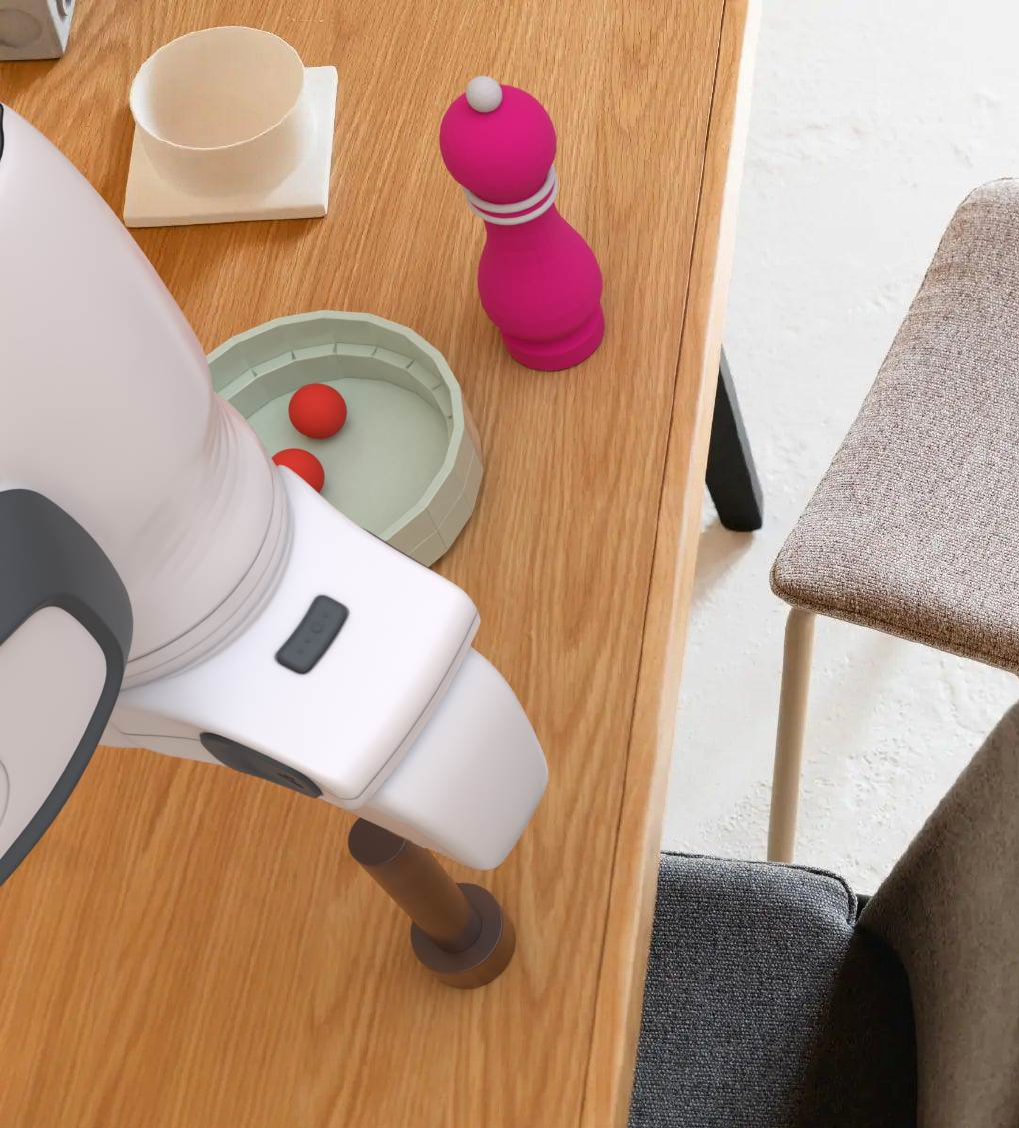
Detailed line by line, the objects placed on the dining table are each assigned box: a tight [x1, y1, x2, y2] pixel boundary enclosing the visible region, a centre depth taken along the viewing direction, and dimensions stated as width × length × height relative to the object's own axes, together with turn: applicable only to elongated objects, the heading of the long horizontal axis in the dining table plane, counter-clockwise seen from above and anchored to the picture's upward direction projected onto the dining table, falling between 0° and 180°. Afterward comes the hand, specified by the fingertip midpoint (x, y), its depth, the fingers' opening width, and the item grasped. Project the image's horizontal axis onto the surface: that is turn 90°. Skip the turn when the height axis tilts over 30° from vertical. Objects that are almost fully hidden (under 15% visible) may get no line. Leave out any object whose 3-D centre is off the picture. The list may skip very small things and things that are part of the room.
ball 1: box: [288, 383, 347, 439], centre depth 87 cm, size 3×3×3 cm
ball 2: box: [272, 448, 325, 493], centre depth 85 cm, size 3×3×3 cm
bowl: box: [205, 309, 485, 568], centre depth 85 cm, size 17×17×6 cm
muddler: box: [347, 817, 517, 990], centre depth 67 cm, size 4×4×16 cm
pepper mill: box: [438, 75, 606, 372], centre depth 84 cm, size 7×7×20 cm
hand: (309, 770), depth 53 cm, fingers open, 8 cm apart
